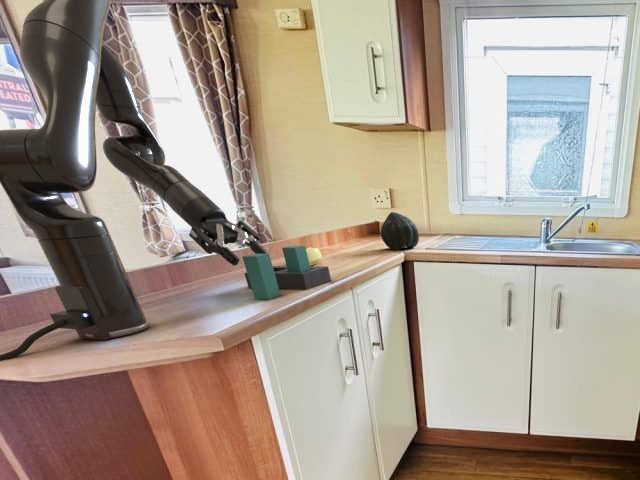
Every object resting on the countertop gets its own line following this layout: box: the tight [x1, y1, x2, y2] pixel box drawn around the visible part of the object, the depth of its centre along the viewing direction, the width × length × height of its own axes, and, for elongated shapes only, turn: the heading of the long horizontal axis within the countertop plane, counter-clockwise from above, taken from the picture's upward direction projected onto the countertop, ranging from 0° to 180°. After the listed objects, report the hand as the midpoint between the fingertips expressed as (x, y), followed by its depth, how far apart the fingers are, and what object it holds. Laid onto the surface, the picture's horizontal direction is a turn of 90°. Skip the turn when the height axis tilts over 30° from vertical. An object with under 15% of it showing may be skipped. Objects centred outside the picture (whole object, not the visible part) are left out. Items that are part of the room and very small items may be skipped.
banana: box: [279, 247, 323, 266], centre depth 144 cm, size 14×6×20 cm
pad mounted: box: [281, 245, 310, 272], centre depth 113 cm, size 4×4×10 cm
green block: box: [241, 253, 282, 300], centre depth 100 cm, size 4×4×10 cm
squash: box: [380, 211, 420, 250], centre depth 174 cm, size 14×15×15 cm
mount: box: [243, 265, 332, 290], centre depth 115 cm, size 10×18×4 cm, turn 76°
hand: (251, 259), depth 99 cm, fingers open, 8 cm apart
